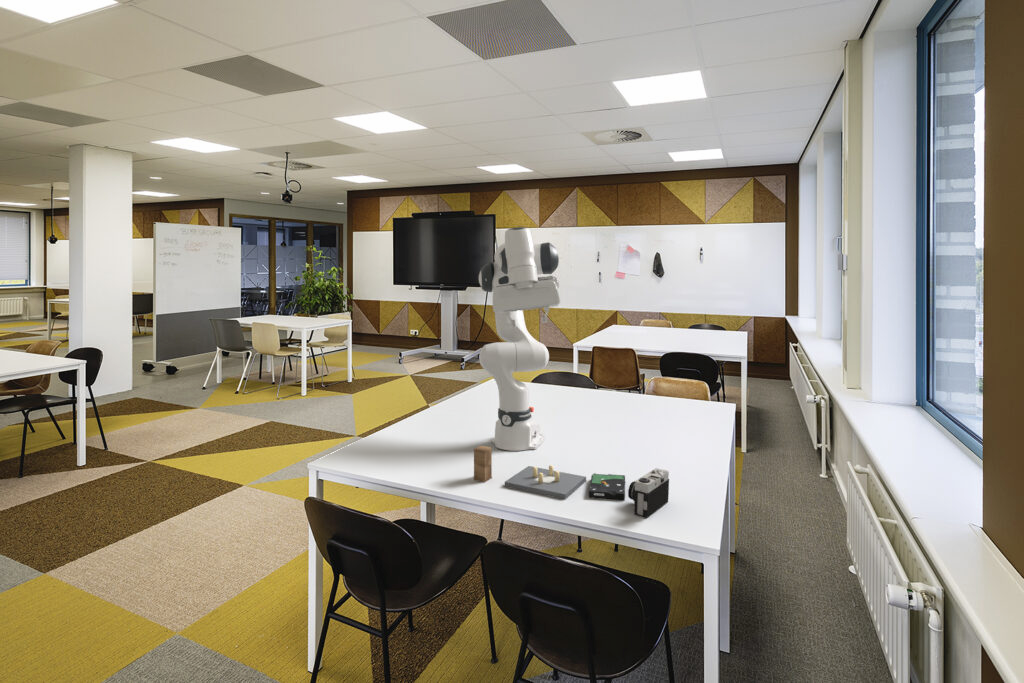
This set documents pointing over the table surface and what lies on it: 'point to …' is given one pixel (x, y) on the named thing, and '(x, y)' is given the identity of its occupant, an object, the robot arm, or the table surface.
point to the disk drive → (607, 487)
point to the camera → (649, 492)
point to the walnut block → (482, 463)
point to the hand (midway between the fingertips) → (528, 324)
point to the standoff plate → (546, 482)
